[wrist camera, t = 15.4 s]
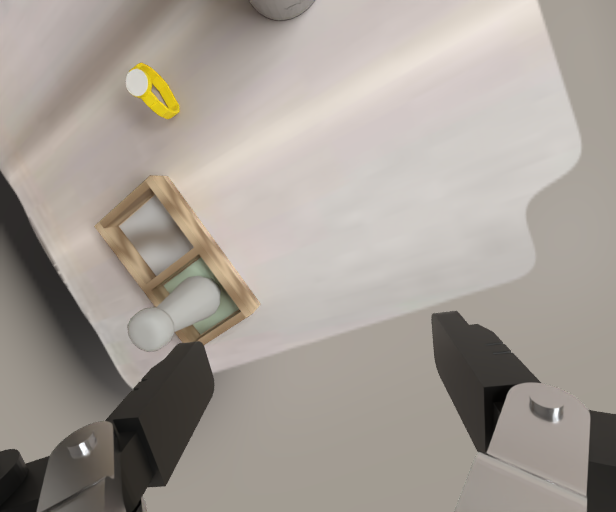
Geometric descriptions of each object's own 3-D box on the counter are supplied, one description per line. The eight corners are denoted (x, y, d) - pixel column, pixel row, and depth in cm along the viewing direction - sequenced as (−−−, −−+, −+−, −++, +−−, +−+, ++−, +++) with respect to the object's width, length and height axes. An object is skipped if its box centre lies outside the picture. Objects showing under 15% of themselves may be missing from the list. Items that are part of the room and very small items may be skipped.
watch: (151, 84, 39) (112, 63, 34) (167, 71, 39) (131, 47, 33) (173, 127, 40) (139, 113, 34) (190, 115, 39) (158, 99, 33)
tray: (113, 224, 44) (92, 227, 41) (167, 176, 41) (150, 175, 38) (202, 342, 46) (189, 354, 43) (260, 304, 43) (251, 314, 40)
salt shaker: (193, 313, 44) (124, 364, 31) (182, 274, 43) (107, 310, 30) (231, 309, 43) (176, 360, 30) (221, 268, 42) (160, 304, 29)
